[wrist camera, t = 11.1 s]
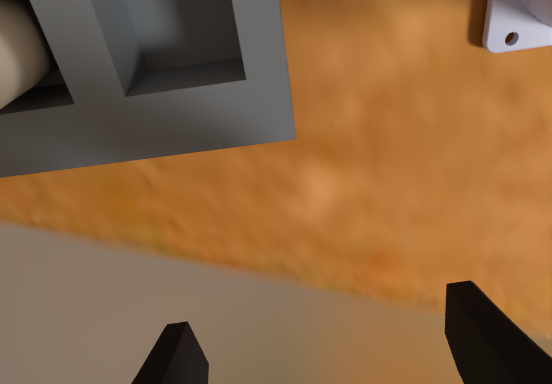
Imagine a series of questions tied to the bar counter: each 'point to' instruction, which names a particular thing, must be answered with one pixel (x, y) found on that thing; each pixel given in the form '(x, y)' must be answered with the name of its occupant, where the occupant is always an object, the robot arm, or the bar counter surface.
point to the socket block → (150, 83)
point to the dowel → (22, 50)
